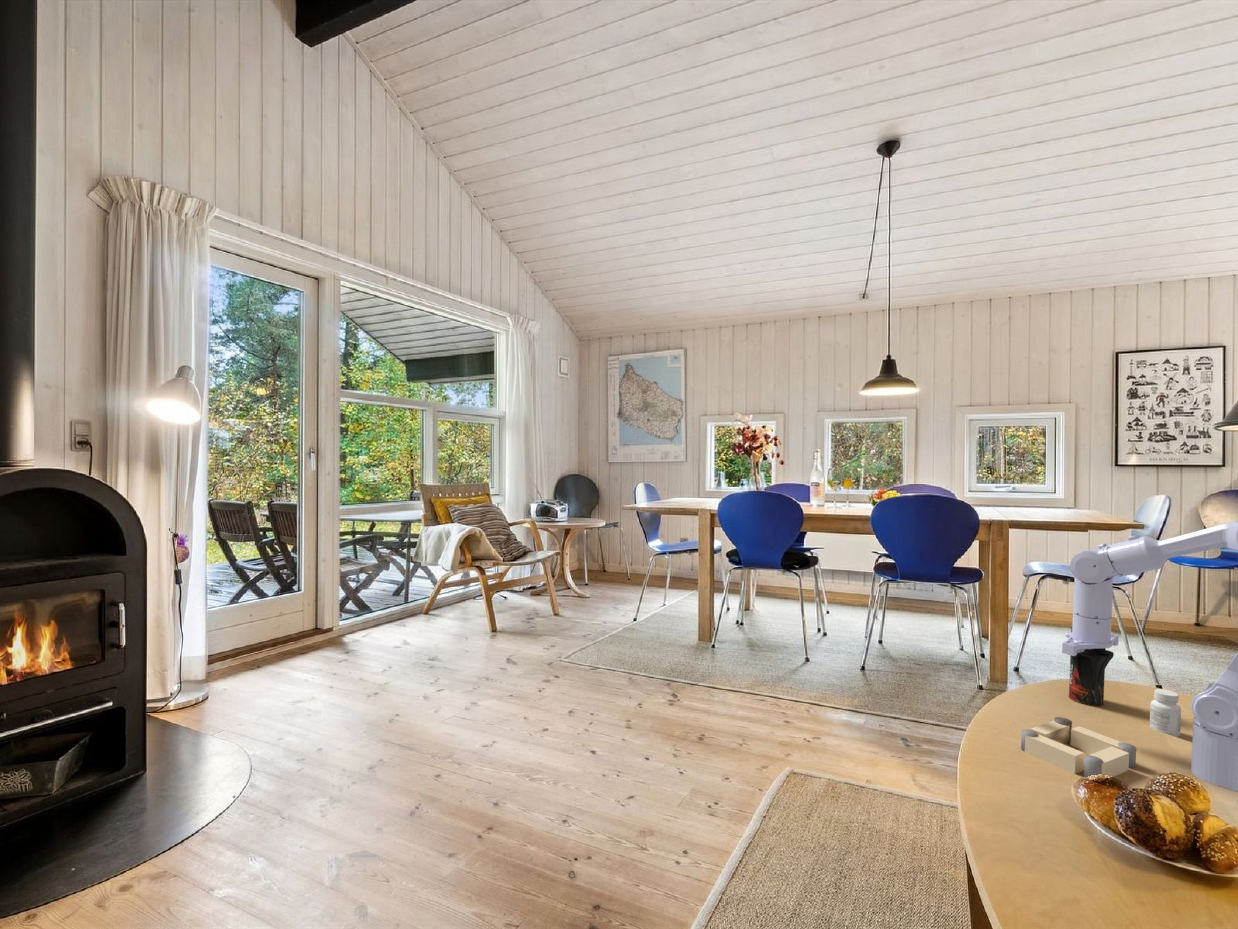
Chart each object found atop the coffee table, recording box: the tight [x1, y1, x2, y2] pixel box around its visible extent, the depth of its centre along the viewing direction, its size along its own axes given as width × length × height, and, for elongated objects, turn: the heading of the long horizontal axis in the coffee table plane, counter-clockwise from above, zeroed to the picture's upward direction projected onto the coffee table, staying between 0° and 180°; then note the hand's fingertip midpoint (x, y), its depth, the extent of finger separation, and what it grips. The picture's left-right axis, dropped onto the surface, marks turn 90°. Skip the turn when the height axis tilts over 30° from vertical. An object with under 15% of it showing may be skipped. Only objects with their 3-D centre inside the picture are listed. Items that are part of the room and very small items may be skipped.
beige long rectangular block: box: [1029, 716, 1073, 745], centre depth 113 cm, size 9×3×3 cm, turn 118°
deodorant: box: [1068, 627, 1107, 707], centre depth 134 cm, size 6×6×15 cm
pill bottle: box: [1149, 688, 1182, 738], centre depth 119 cm, size 4×4×8 cm
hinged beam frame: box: [1020, 725, 1137, 778], centre depth 108 cm, size 13×13×4 cm
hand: (1089, 688), depth 116 cm, fingers closed
